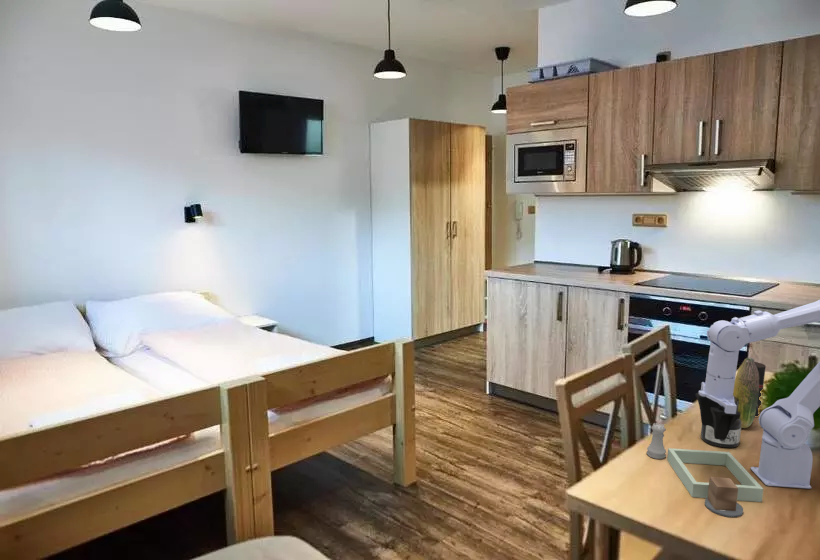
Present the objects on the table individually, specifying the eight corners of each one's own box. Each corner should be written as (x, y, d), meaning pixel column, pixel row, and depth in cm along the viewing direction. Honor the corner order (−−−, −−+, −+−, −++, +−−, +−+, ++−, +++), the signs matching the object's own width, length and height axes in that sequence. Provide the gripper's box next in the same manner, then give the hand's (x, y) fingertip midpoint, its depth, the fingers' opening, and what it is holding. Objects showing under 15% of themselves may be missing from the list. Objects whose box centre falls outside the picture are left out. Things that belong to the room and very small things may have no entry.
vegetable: (723, 423, 162) (731, 354, 159) (739, 420, 164) (747, 352, 161) (743, 432, 156) (751, 361, 153) (759, 428, 159) (767, 358, 155)
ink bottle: (705, 447, 147) (709, 402, 145) (694, 432, 156) (698, 390, 154) (746, 450, 146) (751, 405, 144) (732, 435, 154) (737, 392, 152)
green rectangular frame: (728, 463, 138) (729, 452, 138) (761, 502, 122) (763, 488, 121) (667, 459, 140) (668, 448, 139) (692, 497, 123) (693, 484, 123)
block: (727, 500, 121) (729, 478, 120) (735, 511, 117) (738, 488, 116) (707, 499, 121) (709, 476, 121) (714, 509, 118) (717, 486, 117)
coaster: (734, 500, 122) (734, 497, 122) (749, 518, 115) (749, 516, 115) (699, 497, 123) (699, 494, 123) (712, 515, 116) (712, 513, 116)
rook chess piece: (667, 460, 140) (670, 429, 138) (648, 458, 140) (650, 427, 139) (663, 452, 144) (666, 422, 143) (644, 450, 145) (647, 420, 143)
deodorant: (764, 417, 166) (770, 367, 164) (743, 417, 166) (749, 367, 164) (752, 409, 172) (758, 361, 170) (732, 409, 172) (737, 361, 170)
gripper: (690, 363, 137) (683, 417, 139) (714, 384, 123) (706, 444, 125) (722, 365, 136) (714, 420, 138) (750, 386, 122) (741, 447, 124)
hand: (713, 431), depth 131 cm, fingers open, 7 cm apart
